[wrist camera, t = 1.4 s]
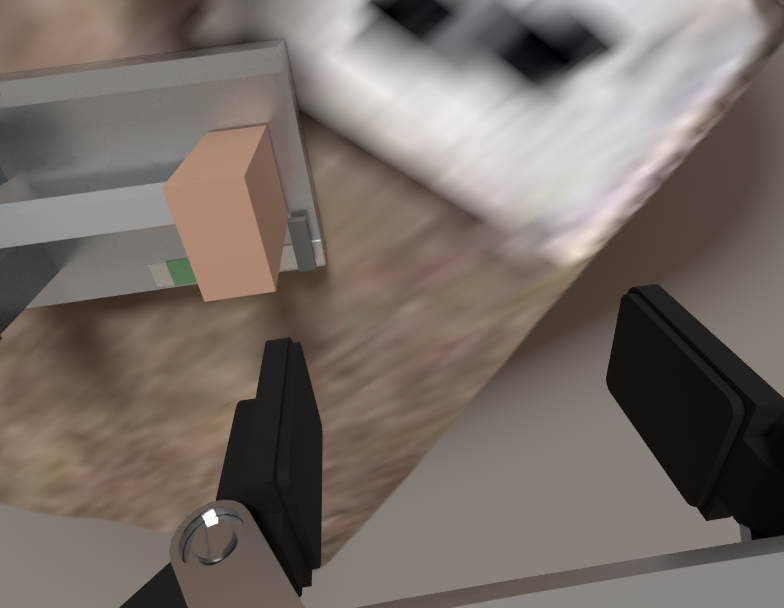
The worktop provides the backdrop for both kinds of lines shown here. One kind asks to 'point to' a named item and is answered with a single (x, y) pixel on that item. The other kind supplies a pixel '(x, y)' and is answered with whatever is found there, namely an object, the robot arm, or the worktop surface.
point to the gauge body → (136, 159)
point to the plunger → (189, 215)
